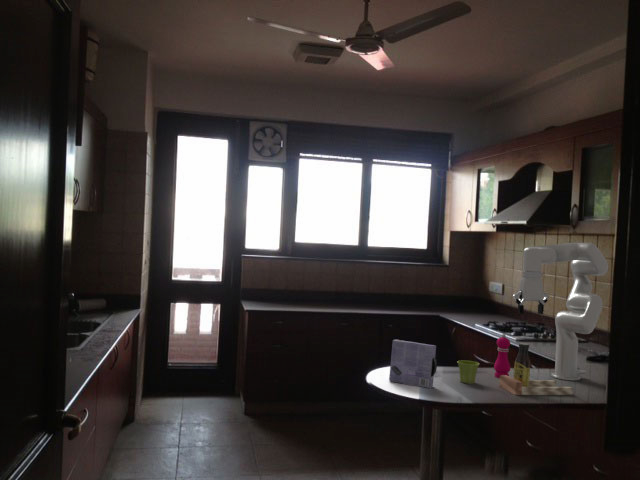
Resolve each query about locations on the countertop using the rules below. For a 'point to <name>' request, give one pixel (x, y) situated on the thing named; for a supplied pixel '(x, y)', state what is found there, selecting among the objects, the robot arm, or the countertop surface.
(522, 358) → the sauce bottle
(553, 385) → the guide track
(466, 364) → the plant pot
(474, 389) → the countertop surface
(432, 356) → the cake pan box
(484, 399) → the countertop surface
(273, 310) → the countertop surface
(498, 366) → the pepper mill
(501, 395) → the countertop surface
